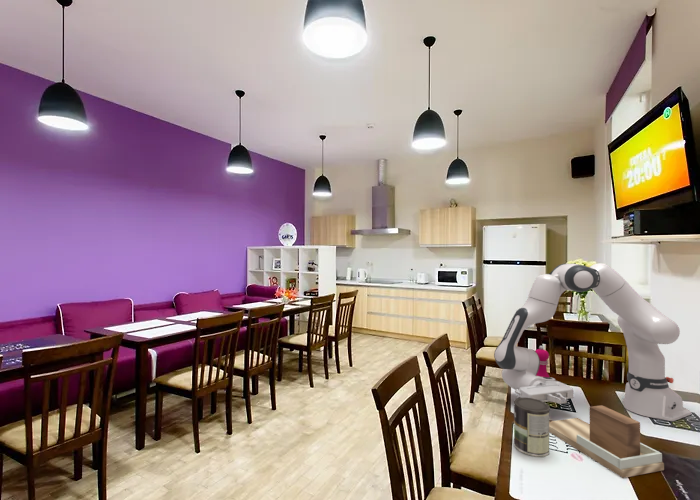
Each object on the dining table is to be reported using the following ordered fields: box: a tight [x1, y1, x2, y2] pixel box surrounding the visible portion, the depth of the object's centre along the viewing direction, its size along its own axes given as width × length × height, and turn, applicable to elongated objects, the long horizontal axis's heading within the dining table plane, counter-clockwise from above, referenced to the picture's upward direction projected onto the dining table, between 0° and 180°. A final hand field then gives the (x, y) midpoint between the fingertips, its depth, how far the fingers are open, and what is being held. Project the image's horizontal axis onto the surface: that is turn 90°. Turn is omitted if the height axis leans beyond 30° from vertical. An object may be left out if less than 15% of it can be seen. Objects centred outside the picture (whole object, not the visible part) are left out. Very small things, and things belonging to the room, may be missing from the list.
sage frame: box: [577, 435, 663, 470], centre depth 109 cm, size 15×14×2 cm
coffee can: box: [513, 397, 551, 458], centre depth 115 cm, size 10×10×14 cm
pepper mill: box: [534, 345, 550, 377], centre depth 163 cm, size 7×7×20 cm
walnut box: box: [589, 405, 641, 459], centre depth 110 cm, size 5×12×11 cm, turn 14°
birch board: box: [549, 417, 665, 479], centre depth 115 cm, size 15×29×2 cm, turn 14°
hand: (563, 401), depth 129 cm, fingers closed
